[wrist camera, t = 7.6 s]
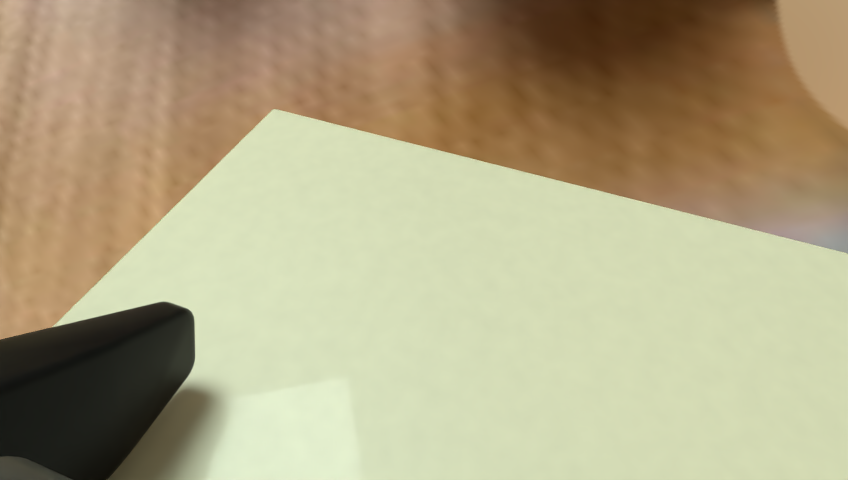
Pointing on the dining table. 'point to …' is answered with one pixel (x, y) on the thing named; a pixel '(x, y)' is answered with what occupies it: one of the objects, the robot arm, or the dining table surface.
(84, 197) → the dining table surface
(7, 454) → the robot arm
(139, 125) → the dining table surface
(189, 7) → the dining table surface
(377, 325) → the washer lid
